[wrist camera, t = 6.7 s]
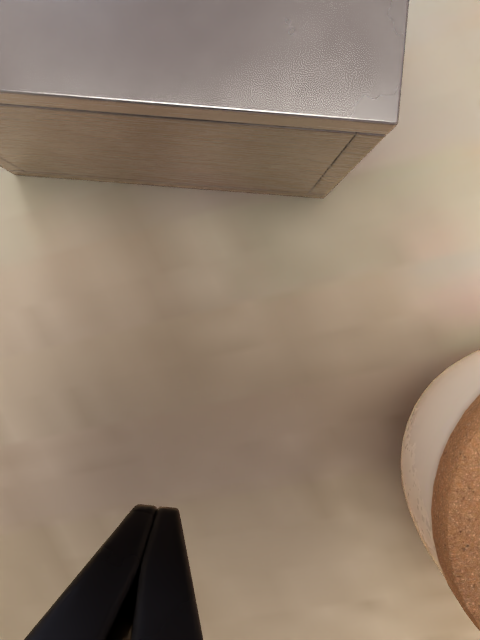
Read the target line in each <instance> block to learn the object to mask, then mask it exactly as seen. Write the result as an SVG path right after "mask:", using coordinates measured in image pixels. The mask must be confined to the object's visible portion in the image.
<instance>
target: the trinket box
mask: <svg viewBox="0 0 480 640" xmlns="http://www.w3.org/2000/svg"><path fill="white" fill-rule="evenodd" d="M401 475H402V485H403V489H404V493H405V498H406V502H407V505H408V508H409V511H410V515H411V517H412V519H413V522H414V524H415V527H416V529H417V531H418V534H419V536H420V538H421V540H422V542H423V544H424V546H425V548H426V549H427V551H428V553H429V554H430V556H431V557H432V559H433V560H434V562H435V564H436V565H437V567H438V568H439V570H440V571H441V573H442V574H443V576H444V577H445V579H446V580H447V583H448V585H449V587H450V589H451V590H452V592H453V594H454V595H455V597H456V598H457V600H458V601H459V603H460V605H461V606H462V608H463V609H464V611H465V612H466V614H467V615H468V617H469V618H470V619H471V621H472V622H473V623H474V625H475V626H476V627H477V628H478V629H479V630H480V350H478V351H476V352H474V353H471V354H469V355H467V356H466V357H464V358H462V359H461V360H459V361H458V362H456V363H454V364H453V365H451V366H450V367H448V368H447V369H446V370H444V371H443V372H442V373H441V374H440V375H439V376H438V377H436V378H435V379H434V380H433V381H432V383H431V384H430V385H429V386H428V387H427V388H426V390H425V391H424V392H423V393H422V395H421V397H420V398H419V400H418V401H417V403H416V405H415V406H414V408H413V410H412V413H411V415H410V417H409V420H408V422H407V425H406V429H405V433H404V437H403V442H402V453H401Z"/></svg>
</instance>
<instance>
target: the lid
mask: <svg viewBox="0 0 480 640" xmlns="http://www.w3.org/2000/svg"><path fill="white" fill-rule="evenodd" d="M408 7H409V0H0V103H2V104H14V105H27V106H39V107H51V108H64V109H76V110H89V111H101V112H113V113H126V114H138V115H151V116H163V117H175V118H188V119H200V120H213V121H225V122H237V123H250V124H262V125H275V126H287V127H299V128H312V129H324V130H337V131H349V132H361V133H374V134H388V133H389V132H390V131H391V130H392V129H393V128H394V127H395V126H396V125H397V124H398V118H399V107H400V96H401V85H402V74H403V63H404V51H405V40H406V29H407V18H408Z"/></svg>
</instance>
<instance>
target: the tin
mask: <svg viewBox="0 0 480 640" xmlns="http://www.w3.org/2000/svg"><path fill="white" fill-rule="evenodd" d="M385 136H386V134H374V133H361V132H349V131H337V130H324V129H312V128H299V127H287V126H275V125H262V124H250V123H237V122H225V121H213V120H200V119H188V118H175V117H163V116H151V115H138V114H126V113H113V112H101V111H89V110H76V109H64V108H51V107H39V106H27V105H14V104H2V103H0V167H2V168H4V169H6V170H7V171H9V172H11V173H13V174H15V175H25V176H38V177H51V178H64V179H77V180H90V181H103V182H116V183H129V184H142V185H155V186H168V187H181V188H194V189H207V190H220V191H233V192H246V193H259V194H272V195H285V196H298V197H311V198H324V197H325V196H326V195H327V194H328V193H329V192H330V191H331V190H332V189H333V188H334V187H335V186H336V185H337V184H338V183H339V182H340V181H341V180H342V179H343V178H344V177H345V176H346V175H347V174H348V173H349V172H350V171H351V170H352V169H353V168H354V167H355V166H356V165H357V164H358V163H359V162H360V161H361V160H362V159H363V158H364V157H365V156H366V155H367V154H368V153H369V152H370V151H371V150H372V149H373V148H374V147H375V146H376V145H377V144H378V143H379V142H380V141H381V140H382V139H383V138H384V137H385Z"/></svg>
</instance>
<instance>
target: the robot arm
mask: <svg viewBox="0 0 480 640" xmlns="http://www.w3.org/2000/svg"><path fill="white" fill-rule="evenodd" d="M24 640H203V636H202V630H201V625H200V620H199V614H198V609H197V604H196V598H195V593H194V588H193V582H192V577H191V572H190V566H189V561H188V556H187V550H186V545H185V540H184V534H183V529H182V524H181V518H180V513H179V510H178V509H177V508H172V507H159V508H158V509H157V507H156V506H152V505H142V504H139V505H136V506H135V507H134V508H133V509H132V510H131V511H130V513H129V514H128V515H127V516H126V517H125V519H124V520H123V521H122V522H121V523H120V525H119V526H118V527H117V528H116V530H115V531H114V532H113V533H112V534H111V536H110V537H109V538H108V539H107V540H106V542H105V543H104V544H103V545H102V546H101V548H100V549H99V550H98V551H97V552H96V554H95V555H94V556H93V557H92V558H91V560H90V561H89V562H88V563H87V564H86V566H85V567H84V568H83V569H82V570H81V572H80V573H79V574H78V575H77V577H76V578H75V579H74V580H73V581H72V583H71V584H70V585H69V586H68V587H67V589H66V590H65V591H64V592H63V593H62V595H61V596H60V597H59V598H58V599H57V601H56V602H55V603H54V604H53V605H52V607H51V608H50V609H49V610H48V611H47V613H46V614H45V615H44V616H43V617H42V619H41V620H40V621H39V622H38V624H37V625H36V626H35V627H34V628H33V630H32V631H31V632H30V633H29V634H28V636H27V637H26V638H25V639H24Z"/></svg>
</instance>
